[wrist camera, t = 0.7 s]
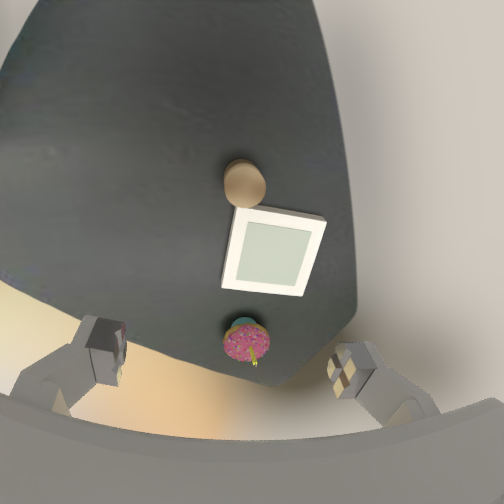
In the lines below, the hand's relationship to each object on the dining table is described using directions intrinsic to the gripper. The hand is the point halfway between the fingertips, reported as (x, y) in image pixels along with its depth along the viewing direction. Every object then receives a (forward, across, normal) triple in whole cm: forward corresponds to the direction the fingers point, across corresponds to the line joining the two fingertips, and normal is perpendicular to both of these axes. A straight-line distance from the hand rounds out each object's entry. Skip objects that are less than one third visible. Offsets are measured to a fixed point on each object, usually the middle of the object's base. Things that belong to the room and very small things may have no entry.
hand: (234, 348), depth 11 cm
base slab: (+36, -10, +12) cm, 40 cm away
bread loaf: (+36, -3, +1) cm, 36 cm away
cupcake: (+37, -10, +29) cm, 48 cm away
